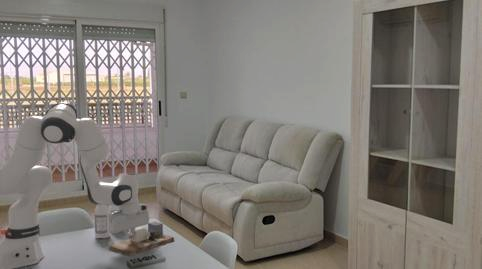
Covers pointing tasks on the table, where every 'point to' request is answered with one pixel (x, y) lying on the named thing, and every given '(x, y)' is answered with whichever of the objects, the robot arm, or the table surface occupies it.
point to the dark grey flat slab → (152, 236)
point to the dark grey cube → (156, 228)
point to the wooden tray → (139, 245)
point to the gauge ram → (140, 234)
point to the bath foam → (101, 221)
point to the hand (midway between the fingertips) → (129, 238)
